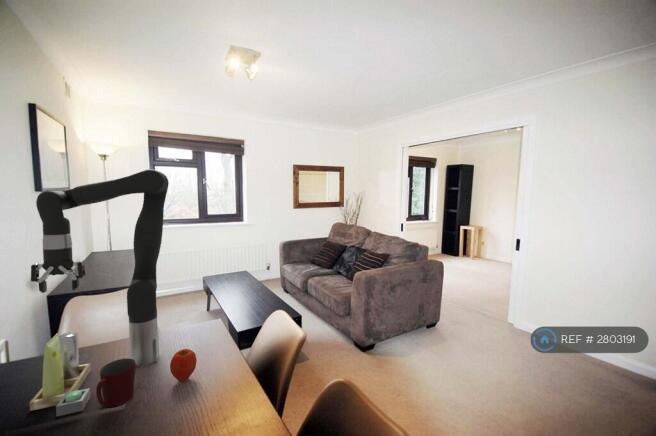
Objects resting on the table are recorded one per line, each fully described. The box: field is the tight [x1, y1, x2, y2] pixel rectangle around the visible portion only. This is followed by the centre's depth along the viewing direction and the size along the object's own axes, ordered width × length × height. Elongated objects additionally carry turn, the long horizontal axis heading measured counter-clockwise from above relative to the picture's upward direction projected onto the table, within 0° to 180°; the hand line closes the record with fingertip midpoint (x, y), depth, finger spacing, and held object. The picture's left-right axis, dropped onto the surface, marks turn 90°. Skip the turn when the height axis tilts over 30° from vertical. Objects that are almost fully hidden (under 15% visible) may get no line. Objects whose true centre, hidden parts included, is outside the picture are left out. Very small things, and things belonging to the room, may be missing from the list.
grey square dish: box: [55, 387, 91, 420], centre depth 84 cm, size 6×6×4 cm
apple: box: [169, 348, 197, 383], centre depth 98 cm, size 9×8×11 cm
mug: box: [95, 357, 136, 409], centre depth 87 cm, size 12×9×11 cm
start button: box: [66, 389, 82, 403], centre depth 84 cm, size 4×4×3 cm
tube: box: [41, 332, 64, 398], centre depth 87 cm, size 6×5×20 cm
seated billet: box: [58, 331, 80, 380], centre depth 95 cm, size 5×5×16 cm
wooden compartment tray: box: [29, 362, 92, 412], centre depth 92 cm, size 9×18×4 cm, turn 24°
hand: (59, 290), depth 101 cm, fingers open, 8 cm apart
